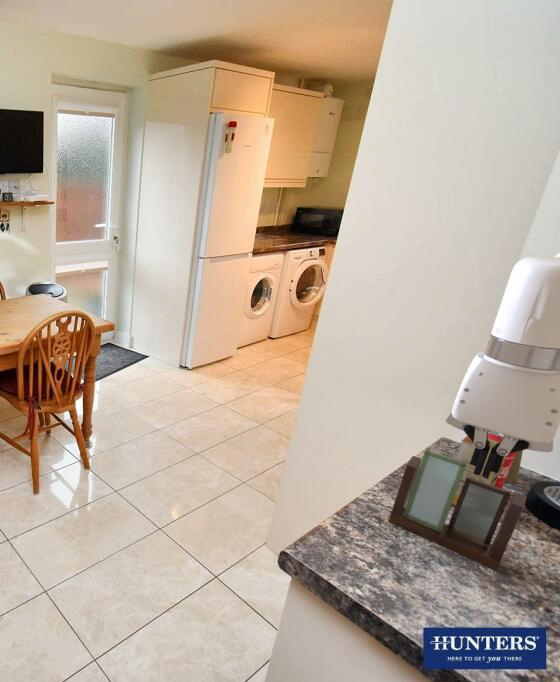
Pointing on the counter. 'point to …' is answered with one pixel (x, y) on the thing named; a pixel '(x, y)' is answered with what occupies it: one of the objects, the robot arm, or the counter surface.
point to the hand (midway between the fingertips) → (482, 472)
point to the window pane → (434, 489)
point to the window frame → (466, 518)
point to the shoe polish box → (465, 456)
